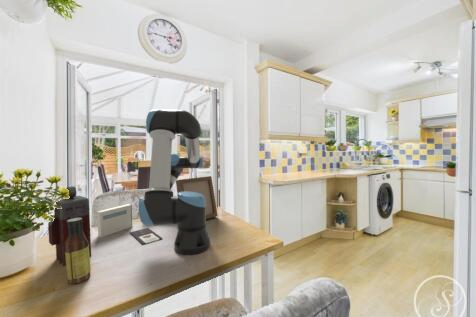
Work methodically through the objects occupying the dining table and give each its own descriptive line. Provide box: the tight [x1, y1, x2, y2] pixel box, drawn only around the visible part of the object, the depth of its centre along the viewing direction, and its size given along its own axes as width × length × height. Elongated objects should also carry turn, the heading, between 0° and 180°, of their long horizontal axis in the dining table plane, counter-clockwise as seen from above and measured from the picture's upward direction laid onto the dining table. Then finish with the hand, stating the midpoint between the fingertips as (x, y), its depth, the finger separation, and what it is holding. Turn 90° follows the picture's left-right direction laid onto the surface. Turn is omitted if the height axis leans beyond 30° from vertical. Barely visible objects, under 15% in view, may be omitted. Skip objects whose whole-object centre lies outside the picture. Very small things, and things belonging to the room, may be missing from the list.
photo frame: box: [175, 175, 218, 220], centre depth 130 cm, size 15×22×25 cm
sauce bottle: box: [65, 218, 92, 285], centre depth 71 cm, size 7×6×20 cm
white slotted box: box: [96, 203, 133, 238], centre depth 112 cm, size 16×3×12 cm, turn 150°
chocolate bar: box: [129, 227, 163, 246], centre depth 106 cm, size 9×1×18 cm
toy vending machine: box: [47, 185, 92, 267], centre depth 84 cm, size 9×11×28 cm
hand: (148, 211), depth 130 cm, fingers open, 13 cm apart
